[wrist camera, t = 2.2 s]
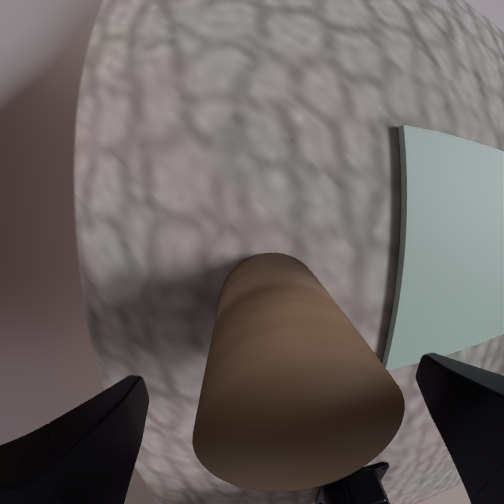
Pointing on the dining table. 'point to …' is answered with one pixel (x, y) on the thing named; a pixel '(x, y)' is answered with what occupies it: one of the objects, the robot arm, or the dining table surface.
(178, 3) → the dining table surface
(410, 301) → the card
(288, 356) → the brown rounded cylinder
